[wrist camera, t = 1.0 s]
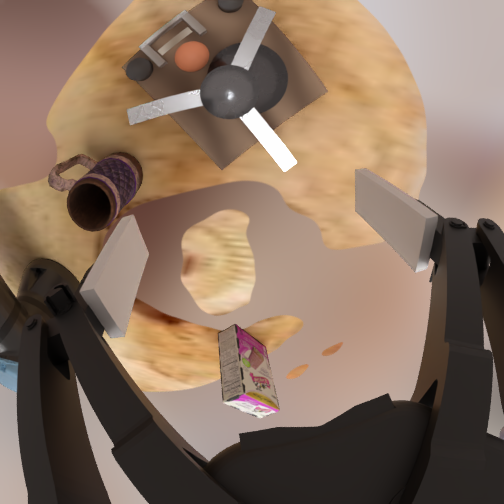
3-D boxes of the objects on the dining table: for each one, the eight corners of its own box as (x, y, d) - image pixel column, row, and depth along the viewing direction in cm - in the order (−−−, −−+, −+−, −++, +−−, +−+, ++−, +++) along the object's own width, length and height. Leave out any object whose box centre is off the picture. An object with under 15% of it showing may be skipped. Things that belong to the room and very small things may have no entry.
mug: (153, 171, 35) (129, 204, 25) (125, 207, 37) (97, 249, 27) (101, 128, 30) (59, 145, 20) (76, 167, 32) (33, 197, 22)
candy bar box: (267, 346, 57) (281, 411, 44) (249, 355, 59) (259, 419, 45) (235, 321, 52) (245, 394, 38) (216, 332, 53) (221, 404, 39)
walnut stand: (221, 167, 36) (222, 174, 33) (125, 68, 26) (116, 65, 23) (323, 91, 31) (334, 91, 28) (232, -13, 22) (234, -22, 19)
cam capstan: (221, 198, 36) (224, 224, 30) (138, 112, 28) (116, 116, 22) (332, 114, 32) (361, 121, 25) (256, 19, 24) (268, -2, 17)
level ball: (190, 79, 27) (187, 76, 24) (170, 59, 25) (164, 54, 22) (216, 59, 26) (216, 54, 23) (195, 38, 24) (193, 31, 21)
